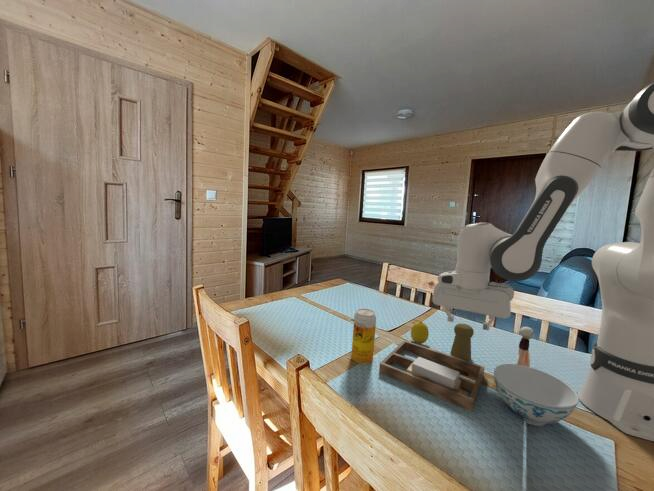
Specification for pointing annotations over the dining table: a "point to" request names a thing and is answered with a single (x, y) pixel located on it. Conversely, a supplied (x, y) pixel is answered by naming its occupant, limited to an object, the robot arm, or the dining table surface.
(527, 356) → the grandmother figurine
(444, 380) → the grey offcut
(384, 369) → the walnut divided tray
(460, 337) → the brown tall rounded piece
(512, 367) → the chinaware
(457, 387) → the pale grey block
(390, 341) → the dining table surface
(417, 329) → the lemon
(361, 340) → the beer can
